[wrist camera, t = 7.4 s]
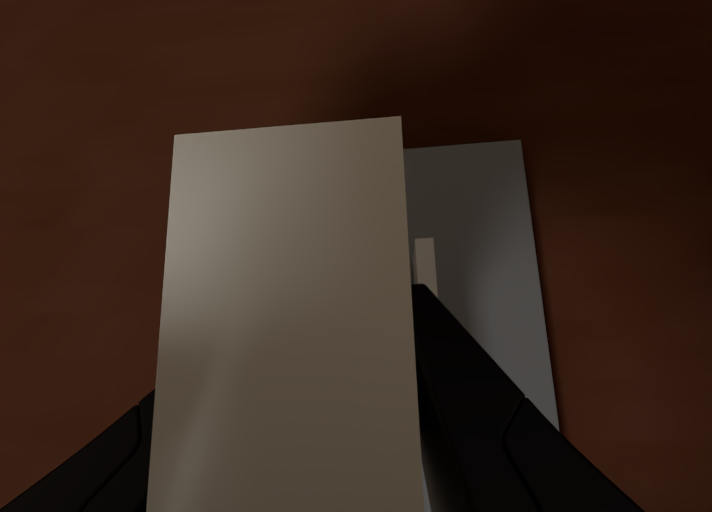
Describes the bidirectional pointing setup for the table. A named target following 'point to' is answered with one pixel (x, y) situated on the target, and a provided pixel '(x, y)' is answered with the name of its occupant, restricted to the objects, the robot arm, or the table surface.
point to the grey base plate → (481, 256)
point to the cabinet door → (287, 325)
